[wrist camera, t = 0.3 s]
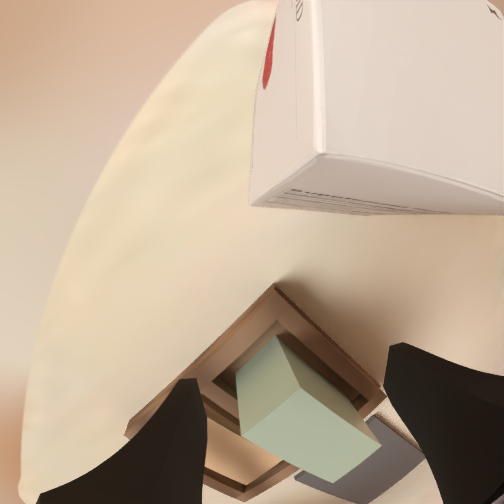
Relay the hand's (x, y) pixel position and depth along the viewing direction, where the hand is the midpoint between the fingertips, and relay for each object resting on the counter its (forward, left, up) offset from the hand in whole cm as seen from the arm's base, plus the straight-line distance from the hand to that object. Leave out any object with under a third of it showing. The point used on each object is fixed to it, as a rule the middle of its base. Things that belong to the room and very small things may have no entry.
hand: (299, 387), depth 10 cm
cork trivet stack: (-10, -6, -10) cm, 15 cm away
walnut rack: (-7, -6, -10) cm, 14 cm away
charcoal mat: (-6, -22, -10) cm, 25 cm away
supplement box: (+10, +5, -11) cm, 16 cm away
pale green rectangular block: (-3, -6, -10) cm, 12 cm away
